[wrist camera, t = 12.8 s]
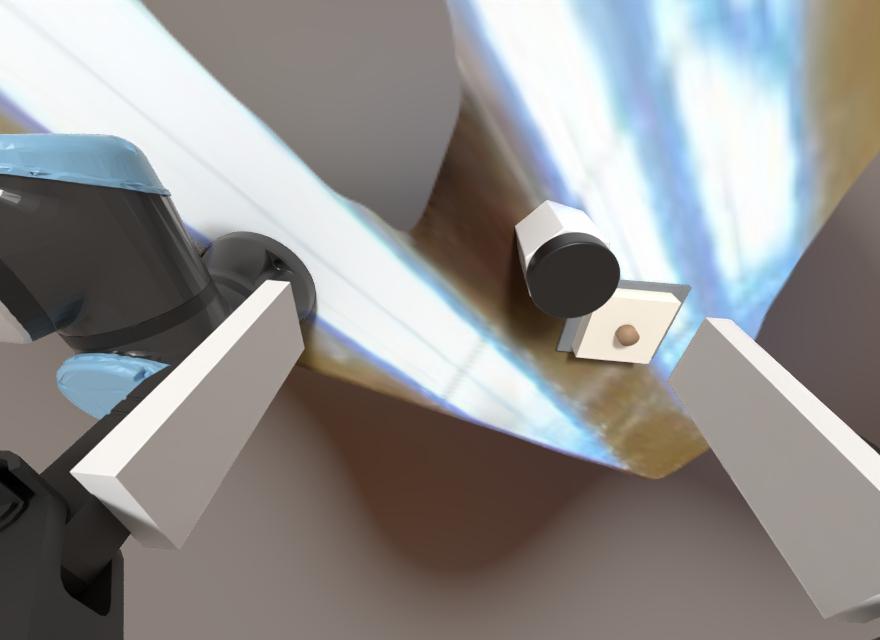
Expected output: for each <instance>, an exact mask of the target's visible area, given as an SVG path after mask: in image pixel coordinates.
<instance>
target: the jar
mask: <svg viewBox="0 0 880 640" xmlns="http://www.w3.org/2000/svg"><path fill="white" fill-rule="evenodd" d="M515 231H516V238H517V245H518V252H519V259H520V263H521V267H522V270H523V274H524V277H525V281H526V284H527V288H528V291H529V295H530V296H531V297H532V299H533V301H534V303H535V304H536V306H537V307H538V308H539V309H540V310H542V311H543V312H545V313H546V314H548V315H551V316H553V317H557V318H577V317H582V316H585V315H588V314H590V313H592V312H594V311H596V310H598V309H599V308H601V307H602V306H603V305H604V304H605V303H606V302H607V301H608V300H609V299H610V298H611V297H612V295H613V294H614V292H615V291H616V289H617V286H618V283H619V279H620V268H619V264H618V261H617V259H616V257H615V256H614V254H613V253H612V252H611V251H610V250H609V246H610V242H609V240H608V239H607V238H606V237H605V236H604V235H603V234H602V232H601V231H600V230H599V229H598V228H597V227H596V226H595V224H594V223H593V222H592V221H591V220H590V219H589V218H588V217H587V215H586V214H585V213H584V212H583V211H581V210H577V209H574V208H571V207H568V206H565V205H561V204H558V203H555V202H552V201H549V200H546V201H545V202H544V203H543V204H541V205H540V206H539V207H538V208H537V209H535V210H534V211H533V212H532V213H530V214H529V215H528V216H527V217H526V218H524V219H523V220H522V221H521V222H520V223H518V224H517V225H516V226H515Z"/></svg>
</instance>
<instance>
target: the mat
mask: <svg viewBox="0 0 880 640" xmlns="http://www.w3.org/2000/svg"><path fill="white" fill-rule="evenodd" d="M617 288H621V289H633V290H644V291H656V292H667V293H672V294H673V295H674V296H675V297H676V298H677V299H678V300H679V301H680V302H681V304H680V306H679V308H678V310H677V312H676V314H675V315H674V317H673V319H672V321H671V323H670V325H669V326H668V328H667V330H666V332H665V334H664V336H663V337H662V339H661V341H660V343H659V345H658V347H657V348H656V350H655V352H654V354H653V356H652V358H651V359H653V358H654V356H655V354H656V352H657V350H658V349H659V347H660V345H661V343H662V341H663V339H664V338H665V336H666V334H667V332H668V330H669V328H670V326H671V325H672V323H673V321H674V319H675V317H676V315H677V314H678V312H679V310H680V308H681V306H682V304H683V302H684V301H685V299H686V297H687V295H688V293H689V291H690V290H691V287H690V286H689V285H679V284H666V283H654V282H642V281H630V280H619V283H618V286H617ZM581 319H582V317H577V318H566V319H565V322H564V326H563V329H562V332H561V335H560V338H559V341H558V344H557V347H556V349H557V351H568V352H574V351H573V348H572V344H573V341H574V338H575V335H576V332H577V330H578V327H579V324H580V321H581Z"/></svg>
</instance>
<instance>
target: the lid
mask: <svg viewBox="0 0 880 640" xmlns="http://www.w3.org/2000/svg"><path fill="white" fill-rule="evenodd" d="M680 304H681V302H680V301H679V300H678V299H677V298H676V297H675V296H674V295H673V294H672V293H667V292H656V291H644V290H633V289H621V288H617V289H616V291H615V292H614V294H613V295H612V297H611V298H610V299H609V300H608V301H607V302H606V303H605V304H604V305H603V306H602V307H601V308H599V309H598V310H596V311H594V312H592V313H590V314H588V315H585V316H582V319H581V321H580V324H579V327H578V330H577V332H576V335H575V338H574V341H573V344H572V348H573V351H574V353H575V356H576V357H579V358H590V359H601V360H612V361H623V362H633V363H644V364H648V363H649V361H650V359H651V358H652V356H653V354H654V352H655V350H656V348H657V347H658V345H659V343H660V341H661V339H662V337H663V336H664V334H665V332H666V330H667V328H668V326H669V325H670V323H671V321H672V319H673V317H674V315H675V314H676V312H677V310H678V308H679V306H680Z"/></svg>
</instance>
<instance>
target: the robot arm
mask: <svg viewBox="0 0 880 640" xmlns="http://www.w3.org/2000/svg"><path fill="white" fill-rule="evenodd" d="M170 196H171V194H170V192H169V191H168V190H167V189H165V188H164V186H163V185H162V183H161V182H160V180H159V178H158V177H157V175H156V173H155V172H154V170H153V168H152V166H151V165H150V163H149V161H148V160H147V158H146V156H145V155H144V153H143V152H142V151H141V150H140V149H139V148H138V147H137V146H135V145H134V144H132V143H131V142H129V141H127V140H125V139H123V138H120V137H117V136H112V135H100V134H0V341H1V342H10V343H20V344H26V343H29V342H33V341H35V340H37V339H39V338H42V337H44V336H46V335H48V334H51V333H53V332H55V331H56V332H57V333H58V334H59V335H60V336H61V337H62V338H63V339H64V340H65V342H66V343H67V344H68V345H69V346H70V347H71V348H72V350H73V351H74V352H75V356H72V357H69V358H68V359H66V360H65V361H64V363H62V367H61V368H60V369H59V370H58V372H57V377H56V379H57V380H58V381H57V385H58V388H59V389H60V391H61V392H62V393H63V395H64V396H65V397H66V398H67V399H68V400H69V401H71V402H72V403H73V404H75V405H76V406H77V407H79V408H80V409H82V410H83V411H85V412H86V413H88V414H90V415H92V416H94V417H96V418H98V419H100V420H99V421H98V422H97V423H96V424H95V425H94V426H93V427H92V428H91V429H89V431H87V432H86V433H85V434H84V435H83V436H82V437H81V438H80V439H79V440H78V441H76V442H75V443H74V444H73V445H72V446H71V447H70V448H69V449H68V450H66V452H64V453H63V454H62V455H61V456H60V457H59V458H58V459H57V460H56V461H54V462H53V463H52V464H51V465H50V466H49V467H48V468H47V469H46V470H45V471H43V472H42V473H41V474H40V475H39V474H38V473H36V471H35V470H34V469H32V468H31V467H30V466H29V465H28V464H27V463H26V462H25V461H24V460H23V459H22V458H21V457H19V456H18V455H16V454H14V453H12V452H10V451H0V640H123V625H124V620H123V619H124V617H123V616H124V610H123V609H124V607H123V606H124V602H123V601H124V599H123V598H124V582H123V581H124V578H123V577H124V569H123V568H124V559H123V556H122V552H121V550H120V549H119V548H120V547H121V546H122V544H123V543H124V542H125V540H126V539H127V537H128V536H129V535H130V534H131V535H132V536H133V537H134V538H135V539H136V540H137V541H138V542H139V543H140V544H141V545H142V546H143V547H150V548H160V549H169V550H178V551H179V550H180V548H181V547H182V545H183V543H184V542H185V540H186V539H187V537H188V535H189V534H190V532H191V530H192V529H193V527H194V525H195V524H196V522H197V521H198V519H199V518H200V516H201V514H202V513H203V511H204V510H205V508H206V506H207V505H208V503H209V502H210V500H211V498H212V497H213V495H214V493H215V492H216V490H217V489H218V487H219V485H220V484H221V482H222V481H223V479H224V477H225V476H226V474H227V473H228V471H229V469H230V468H231V466H232V464H233V463H234V461H235V460H236V458H237V456H238V455H239V453H240V451H241V450H242V448H243V447H244V445H245V443H246V442H247V440H248V439H249V437H250V436H251V434H252V432H253V431H254V429H255V427H256V426H257V424H258V423H259V421H260V419H261V418H262V416H263V414H264V413H265V411H266V410H267V408H268V407H269V405H270V403H271V402H272V400H273V398H274V397H275V395H276V393H277V392H278V390H279V389H280V387H281V386H282V384H283V382H284V381H285V379H286V378H287V376H288V374H289V373H290V371H291V369H292V368H293V366H294V365H295V363H296V361H297V360H298V358H299V357H300V355H301V353H302V352H303V350H304V349H305V348H304V343H303V339H302V334H301V329H300V325H301V324H302V323H303V322H304V321H305V319H306V318H307V317H308V315H309V314H310V312H311V311H312V308H313V306H314V302H315V288H314V283H313V280H312V278H311V275H310V273H309V272H308V270H307V268H306V267H305V265H304V264H303V263H302V261H301V260H300V259H299V258H298V257H297V256H296V255H295V254H294V253H293V252H292V251H291V250H290V249H288V248H287V247H286V246H284V245H283V244H281V243H279V242H278V241H276V240H274V239H272V238H270V237H267V236H264V235H261V234H257V233H253V232H234V233H230V234H227V235H224V236H222V237H220V238H219V239H217V240H216V241H214V242H212V243H211V244H209V245H208V246H207V247H206V248H205V249H204V250H203V252H202V253H201V255H200V254H199V252H198V251H197V249H196V247H195V245H194V243H193V241H192V239H191V237H190V235H189V233H188V231H187V229H186V227H185V225H184V223H183V221H182V220H181V218H180V216H179V214H178V212H177V210H176V208H175V206H174V204H173V202H172V200H171V198H170ZM667 382H668V384H669V385H670V387H671V388H672V390H673V391H674V393H675V394H676V396H677V397H678V399H679V400H680V402H681V403H682V405H683V406H684V408H685V409H686V411H687V412H688V414H689V415H690V417H691V418H692V420H693V421H694V423H695V424H696V426H697V427H698V429H699V430H700V432H701V433H702V435H703V436H704V438H705V439H706V441H707V442H708V444H709V445H710V447H711V448H712V450H713V451H714V453H715V454H716V456H717V457H718V459H719V460H720V462H721V463H722V465H723V467H724V468H725V470H726V471H727V473H728V474H729V476H730V477H731V479H732V480H733V482H734V483H735V485H736V486H737V488H738V489H739V491H740V492H741V494H742V495H743V497H744V498H745V500H746V501H747V503H748V504H749V506H750V507H751V509H752V510H753V512H754V513H755V515H756V516H757V518H758V519H759V521H760V522H761V524H762V525H763V527H764V528H765V530H766V531H767V533H768V534H769V536H770V537H771V539H772V540H773V542H774V543H775V545H776V547H777V548H778V550H779V551H780V552H781V554H782V555H783V557H784V559H785V560H786V562H787V563H788V565H789V566H790V568H791V569H792V571H793V572H794V574H795V575H796V577H797V578H798V580H799V581H800V583H801V584H802V586H803V587H804V589H805V590H806V592H807V593H808V595H809V596H810V598H811V599H812V601H813V602H814V604H815V605H816V607H817V608H818V610H819V611H820V613H821V614H822V616H823V617H824V619H829V620H837V621H847V622H856V623H866V622H868V621H871V620H874V619H876V618H878V617H880V448H878V447H877V446H876V445H874V444H873V443H871V442H870V441H868V440H867V439H865V438H863V437H862V436H861V435H859V434H857V433H856V432H854V431H853V430H851V429H850V428H849V427H848V426H847V425H846V424H845V423H844V422H843V421H842V420H840V419H839V418H838V417H837V416H836V415H835V414H834V413H833V412H831V411H830V410H829V409H828V408H827V407H826V406H825V405H824V404H823V403H822V402H820V401H819V400H818V399H817V398H816V397H815V396H814V395H813V394H812V393H811V392H809V391H808V390H807V389H806V388H805V387H804V386H803V385H802V384H801V383H800V382H798V381H797V380H796V379H795V378H794V377H793V376H792V375H791V374H790V373H788V372H787V371H786V370H785V369H784V368H783V367H782V366H781V365H780V364H779V363H778V362H776V361H775V360H774V359H773V358H772V357H771V356H770V355H769V354H768V353H767V352H765V351H764V350H763V349H762V348H761V347H760V346H759V345H758V344H757V343H756V342H754V341H753V340H752V339H751V338H750V337H749V336H748V335H747V334H746V333H745V332H743V331H742V330H741V329H740V328H739V327H738V326H737V325H736V324H735V323H733V322H732V321H731V320H730V319H718V318H706V317H705V319H704V320H703V322H702V324H701V325H700V327H699V329H698V330H697V332H696V334H695V335H694V337H693V338H692V340H691V342H690V343H689V345H688V347H687V348H686V350H685V352H684V353H683V355H682V357H681V358H680V360H679V362H678V363H677V365H676V367H675V368H674V370H673V372H672V373H671V375H670V377H669V378H668V380H667ZM873 640H880V637H878V638H876V639H873Z"/></svg>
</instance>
